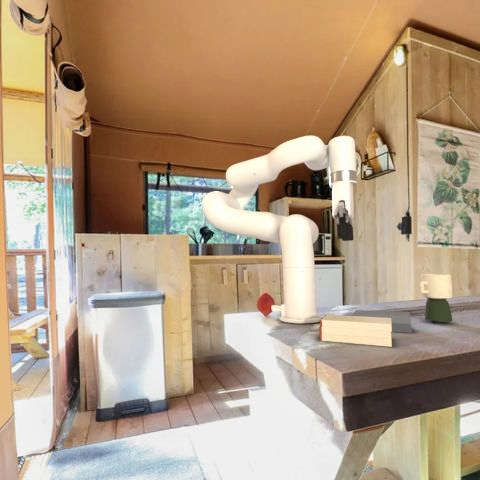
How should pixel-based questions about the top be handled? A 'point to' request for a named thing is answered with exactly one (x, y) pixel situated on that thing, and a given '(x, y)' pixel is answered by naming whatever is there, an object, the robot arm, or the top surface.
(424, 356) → the top surface
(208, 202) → the robot arm
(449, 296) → the character mug
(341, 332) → the cream rectangular block
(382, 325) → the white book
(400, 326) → the grey rectangular block
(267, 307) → the onion
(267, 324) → the top surface
